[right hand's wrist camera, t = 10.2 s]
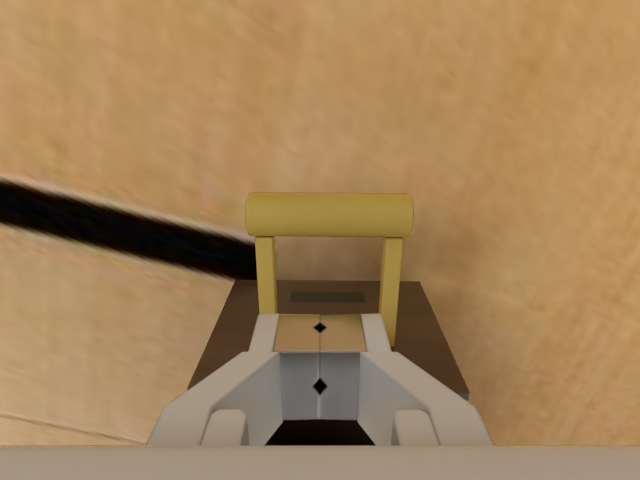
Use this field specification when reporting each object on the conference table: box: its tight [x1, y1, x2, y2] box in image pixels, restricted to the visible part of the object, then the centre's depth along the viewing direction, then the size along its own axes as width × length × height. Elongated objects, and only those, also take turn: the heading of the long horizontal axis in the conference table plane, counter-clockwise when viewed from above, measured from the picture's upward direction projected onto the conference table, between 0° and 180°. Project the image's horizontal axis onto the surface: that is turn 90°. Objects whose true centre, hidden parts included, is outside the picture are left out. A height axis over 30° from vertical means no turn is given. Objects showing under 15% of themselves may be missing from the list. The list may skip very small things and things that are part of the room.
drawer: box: [187, 192, 469, 446], centre depth 19 cm, size 22×9×8 cm, turn 0°
